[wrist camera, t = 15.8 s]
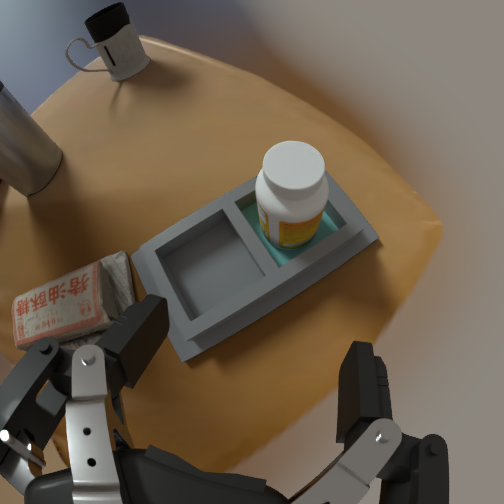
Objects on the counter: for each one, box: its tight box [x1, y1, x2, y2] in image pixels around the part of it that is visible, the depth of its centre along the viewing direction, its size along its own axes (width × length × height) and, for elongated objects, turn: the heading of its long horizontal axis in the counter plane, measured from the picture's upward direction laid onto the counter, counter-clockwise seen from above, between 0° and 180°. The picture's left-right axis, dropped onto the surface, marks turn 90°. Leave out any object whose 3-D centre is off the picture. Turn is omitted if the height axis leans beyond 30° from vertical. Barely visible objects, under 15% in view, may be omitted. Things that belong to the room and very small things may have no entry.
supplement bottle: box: [255, 141, 329, 250], centre depth 21 cm, size 5×5×10 cm
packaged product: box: [11, 250, 136, 352], centre depth 24 cm, size 18×5×10 cm
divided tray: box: [130, 170, 379, 363], centre depth 24 cm, size 22×12×3 cm, turn 121°
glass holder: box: [65, 2, 150, 81], centre depth 32 cm, size 9×14×15 cm, turn 148°
